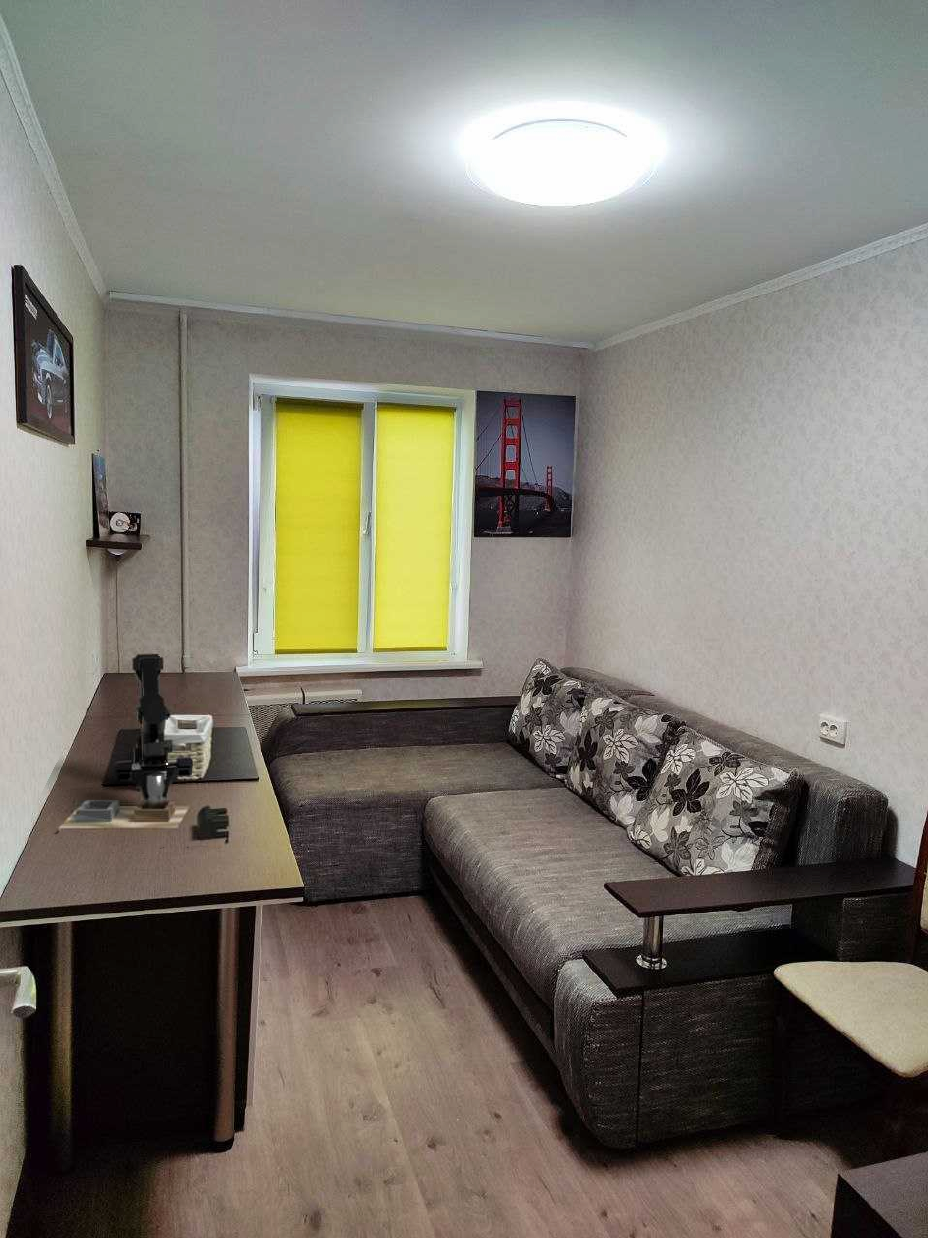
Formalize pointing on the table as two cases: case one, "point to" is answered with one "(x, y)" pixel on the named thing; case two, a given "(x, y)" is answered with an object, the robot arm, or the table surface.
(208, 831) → the end cap
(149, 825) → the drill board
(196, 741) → the storage basket
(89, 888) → the table surface
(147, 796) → the grey long rounded piece
